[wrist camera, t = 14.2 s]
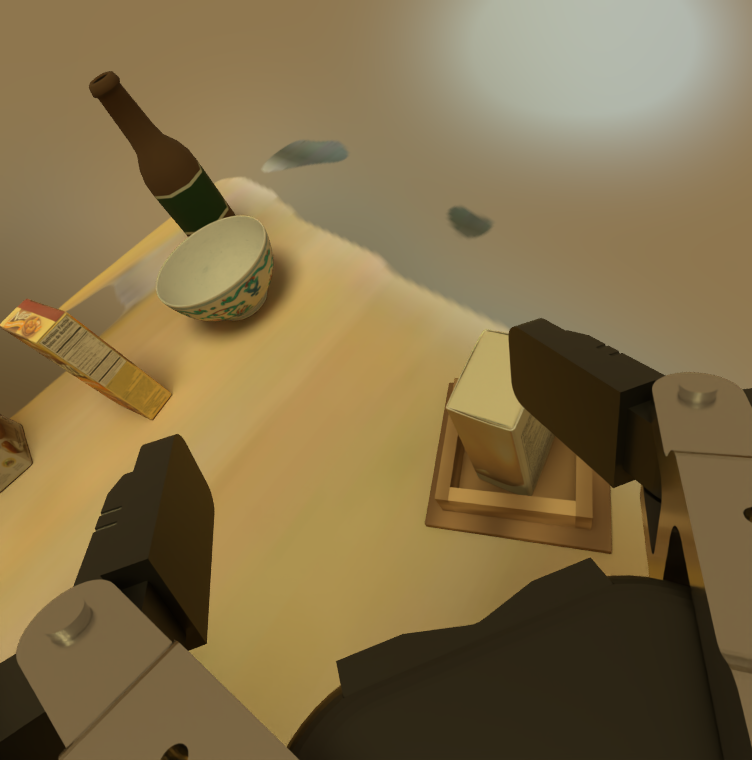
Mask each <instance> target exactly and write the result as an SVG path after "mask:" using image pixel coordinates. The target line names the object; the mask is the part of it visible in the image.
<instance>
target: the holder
mask: <svg viewBox="0 0 752 760" xmlns="http://www.w3.org/2000/svg"><path fill="white" fill-rule="evenodd" d="M458 379H459V378H455V379H454V383H449V387H448V393H447V398H446V404H445V410H444V416H443V422H442V427H441V433H440V439H439V445H438V451H437V456H436V462H435V468H434V474H433V480H432V485H431V491H430V497H429V503H428V509H427V514H426V520H425V525H426V526H428V527H435V528H441V529H448V530H455V531H462V532H468V533H475V534H482V535H488V536H495V537H502V538H508V539H515V540H522V541H529V542H535V543H542V544H549V545H555V546H562V547H569V548H575V549H582V550H589V551H596V552H602V553H609V554H611V553H612V542H611V503H610V485H609V484H608V483H607V482H606V481H605V480H604V479H603V478H602V477H601V476H599V475H598V474H597V473H596V472H595V471H594V470H593V469H592V468H590V467H589V466H588V465H587V464H586V463H585V462H584V461H583V460H582V459H580V458H579V457H578V456H577V455H576V454H575V453H574V452H573V451H571V450H570V449H569V448H568V447H567V446H566V445H565V444H564V443H563V442H561V441H560V440H559V439H558V438H557V437H556V436H554V439H553V442H552V445H551V448H550V451H549V454H548V456H547V459H546V462H545V464H544V467H543V469H542V472H541V474H540V477H539V479H538V482H537V484H536V486H535V489H534V491H533V493H532V496H525V495H518V494H515V493H513V492H510V491H508V490H505V489H503V488H500V487H498V486H496V485H493V484H491V483H489V482H486V481H484V480H482V479H480V478H478V476H477V473H476V471H475V469H474V467H473V465H472V463H471V461H470V458H469V456H468V454H467V452H466V450H465V448H464V446H463V443H462V441H461V439H460V437H459V435H458V433H457V430H456V428H455V426H454V424H453V422H452V420H451V418H450V416H449V413H448V411H447V409H446V405H447V403H448V401H449V399H450V396H451V394H452V392H453V390H454V387H455V385H456V383H457V381H458Z"/></svg>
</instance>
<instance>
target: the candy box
mask: <svg viewBox="0 0 752 760" xmlns="http://www.w3.org/2000/svg"><path fill="white" fill-rule="evenodd" d="M0 327H1V328H2V329H3V330H5V331H7V332H8V333H10V334H11V335H13V336H14V337H16V338H17V339H19V340H20V341H22V342H23V343H25V344H27V345H28V346H30V347H31V348H33V349H34V350H36V351H37V352H39V353H40V354H42V355H43V356H45V357H46V358H48V359H49V360H51V361H52V362H54V363H55V364H57V365H58V366H60V367H61V368H63V369H65V370H66V371H68V372H69V373H71V374H72V375H74V376H75V377H77V378H78V379H80V380H82V381H83V382H85V383H86V384H88V385H89V386H91V387H92V388H94V389H96V390H97V391H99V392H100V393H102V394H103V395H105V396H106V397H108V398H109V399H111V400H112V401H114V402H116V403H118V404H120V405H122V406H124V407H126V408H128V409H130V410H132V411H134V412H136V413H138V414H140V415H142V416H144V417H146V418H148V419H151V420H153V419H154V417H155V416H156V415H157V413H158V412H159V410H160V409H161V408H162V407H163V405H164V404H165V403H166V401H167V400H168V399H169V397H170V396H171V395H172V394H171V393H170V392H169V391H168V390H166V389H165V388H164V387H163V386H161V385H160V384H159V383H157V382H156V381H155V380H153V379H152V378H151V377H150V376H148V375H147V374H146V373H145V372H143V371H142V370H141V369H140V368H138V367H137V366H136V365H134V364H133V363H132V362H131V361H129V360H128V359H127V358H125V357H124V356H123V355H122V354H120V353H119V352H118V351H116V350H115V349H114V348H112V347H111V346H110V345H109V344H107V343H106V342H105V341H103V340H102V339H101V338H99V337H98V336H97V335H96V334H94V333H93V332H92V331H90V330H89V329H88V328H87V327H85V326H84V325H83V324H81V323H80V322H79V321H77V320H76V319H75V318H73V317H72V316H71V315H69V314H68V313H67V312H65V311H62V310H59V309H56V308H53V307H50V306H47V305H44V304H41V303H38V302H35V301H32V300H29V299H26V300H25V301H23V302H22V303H21V304H20V305H19V306H18V307H17V308H16V309H15V310H14V311H13V312H12V313H11V314H10V315H9V316H8V317H7V318H6V319H5V320H4V321H3V322H2V323H1V324H0Z"/></svg>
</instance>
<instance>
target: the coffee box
mask: <svg viewBox="0 0 752 760" xmlns="http://www.w3.org/2000/svg"><path fill="white" fill-rule="evenodd" d="M31 463H32V460H31V457H30V453H29V450H28V446H27V442H26V439H25V435H24V432H23V428H22V425H21V424H19V423H17V422H15V421H13V420H10V419H9V418H7V417H4V416H2V415H1V414H0V492H1V491H2V490H3V489H4V488H5V487H6V486H8V485H9V484H10V483H11V482H12V481H13V480H14V479H16V478H17V477H18V476H19V475H20V474H21V473H22V472H24V471H25V470H26V469H27V468H28V467H29V466H30V465H31Z"/></svg>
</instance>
